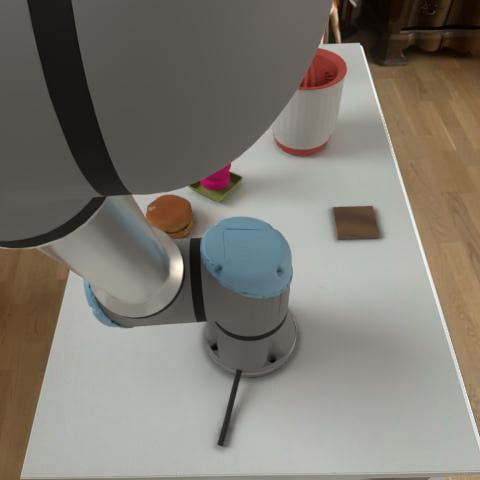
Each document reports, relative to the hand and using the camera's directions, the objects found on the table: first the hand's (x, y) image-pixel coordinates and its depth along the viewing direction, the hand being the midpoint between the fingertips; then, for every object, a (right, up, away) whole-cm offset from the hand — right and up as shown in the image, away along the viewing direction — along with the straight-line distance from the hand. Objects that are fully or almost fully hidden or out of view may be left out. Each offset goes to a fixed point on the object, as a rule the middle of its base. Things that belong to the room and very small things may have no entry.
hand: (140, 46), depth 64 cm
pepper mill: (+9, -10, +30) cm, 33 cm away
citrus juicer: (+28, +2, +39) cm, 48 cm away
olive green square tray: (+9, -11, +31) cm, 35 cm away
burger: (0, -20, +26) cm, 33 cm away
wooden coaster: (+37, -20, +24) cm, 49 cm away
